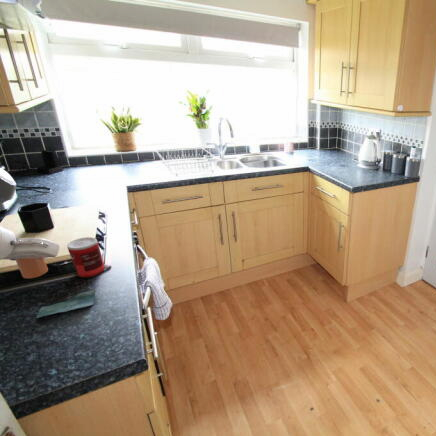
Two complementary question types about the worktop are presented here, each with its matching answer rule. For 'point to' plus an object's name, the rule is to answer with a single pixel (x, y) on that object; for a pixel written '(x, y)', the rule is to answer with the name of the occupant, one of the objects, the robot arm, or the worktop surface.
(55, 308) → the terrain model
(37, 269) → the terracotta pot
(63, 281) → the worktop surface
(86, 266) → the canned food
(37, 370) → the worktop surface
